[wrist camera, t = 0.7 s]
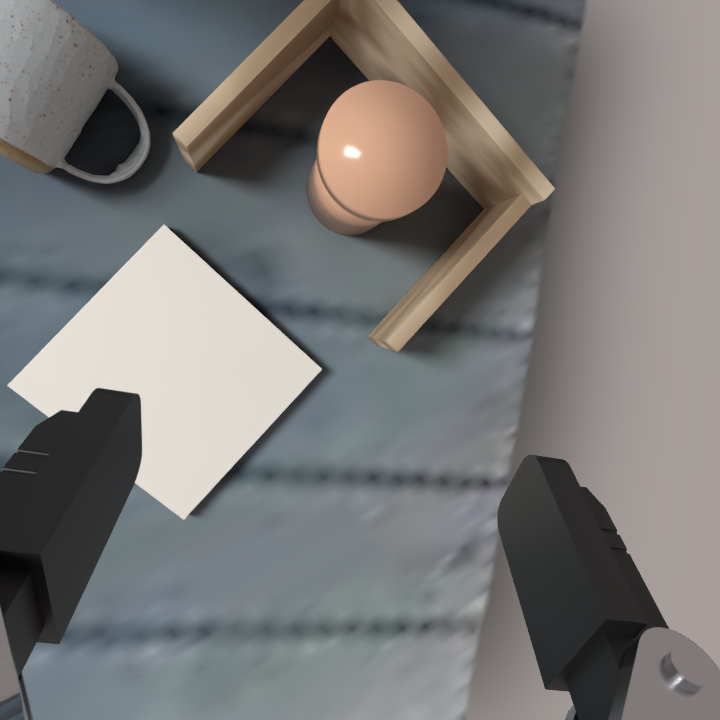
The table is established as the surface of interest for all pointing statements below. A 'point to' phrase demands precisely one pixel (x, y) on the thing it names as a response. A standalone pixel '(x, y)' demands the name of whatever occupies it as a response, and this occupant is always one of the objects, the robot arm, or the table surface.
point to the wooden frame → (425, 76)
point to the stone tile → (174, 367)
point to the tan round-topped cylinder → (376, 157)
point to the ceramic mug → (55, 88)
